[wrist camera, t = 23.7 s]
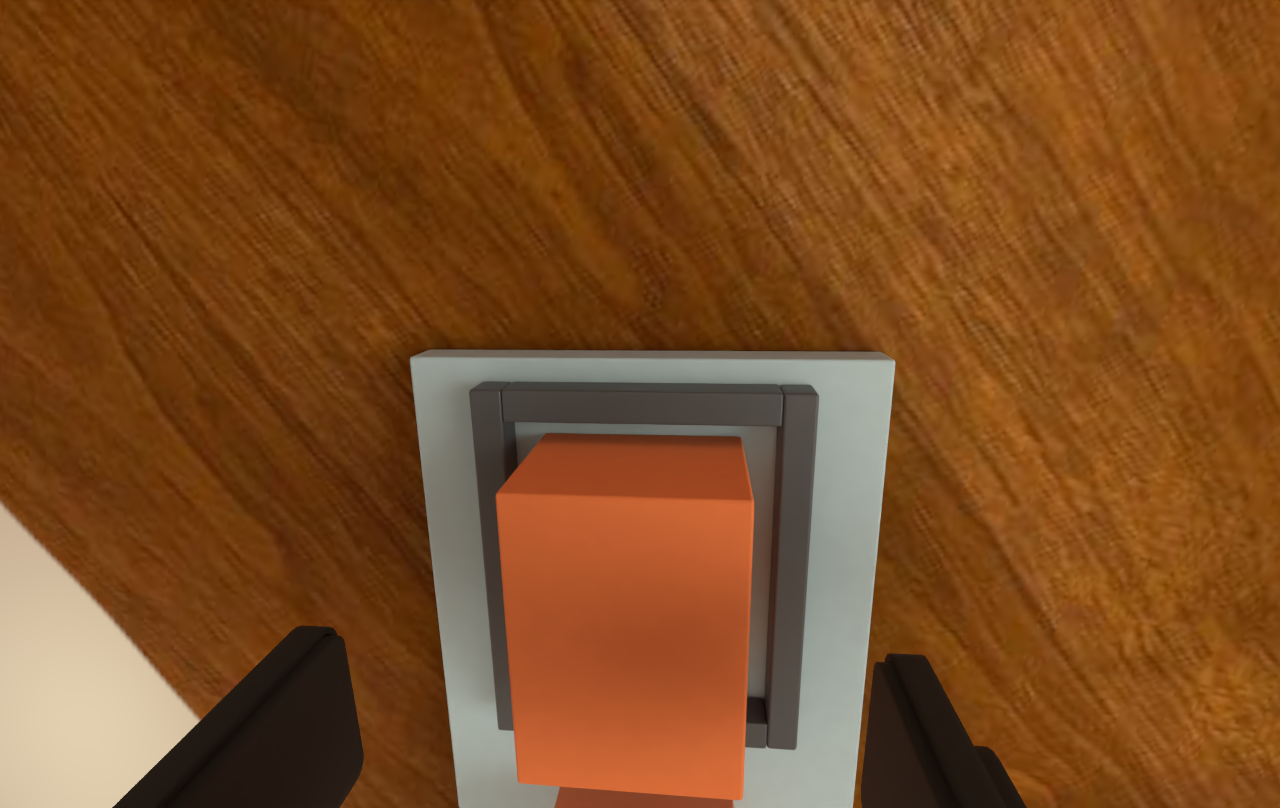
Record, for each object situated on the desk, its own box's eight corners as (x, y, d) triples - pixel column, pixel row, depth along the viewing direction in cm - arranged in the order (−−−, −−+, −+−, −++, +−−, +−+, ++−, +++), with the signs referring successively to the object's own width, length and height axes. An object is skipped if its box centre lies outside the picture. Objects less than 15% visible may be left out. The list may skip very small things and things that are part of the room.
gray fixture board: (484, 903, 22) (419, 1100, 17) (428, 349, 17) (311, 394, 12) (829, 937, 21) (870, 1159, 16) (882, 351, 16) (968, 403, 10)
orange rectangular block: (557, 665, 17) (516, 785, 14) (545, 432, 16) (493, 493, 12) (734, 675, 17) (743, 802, 13) (742, 435, 15) (755, 501, 11)
